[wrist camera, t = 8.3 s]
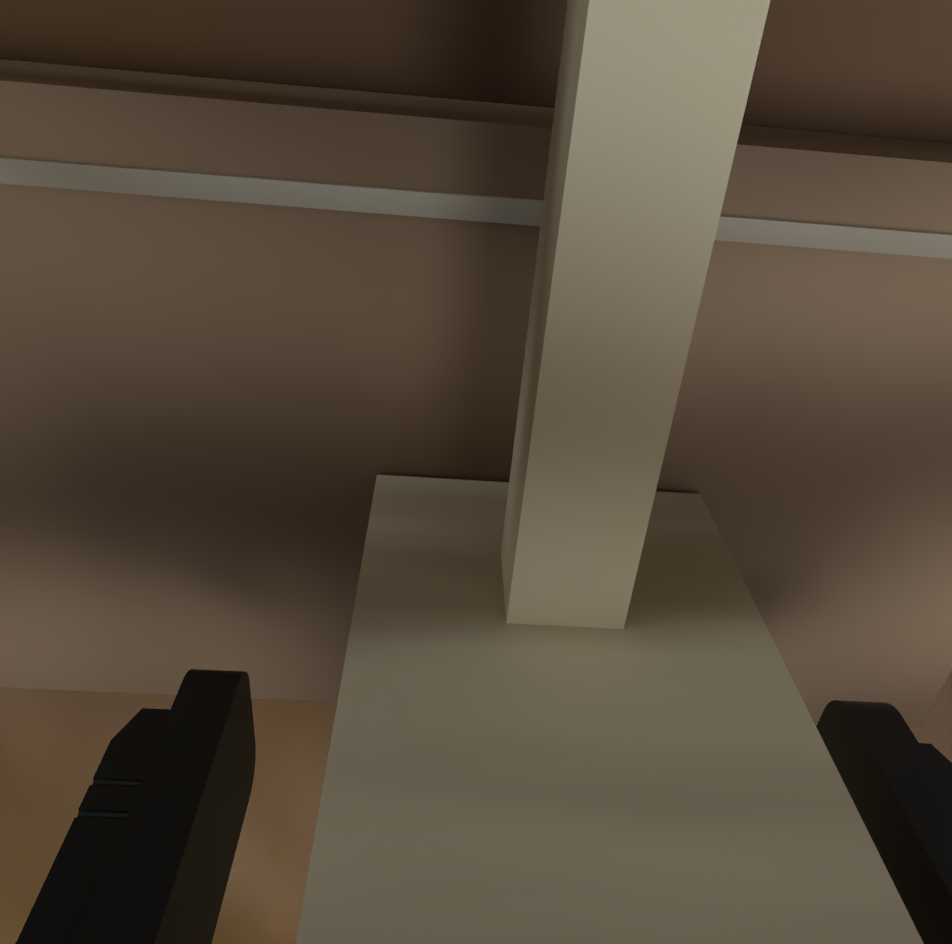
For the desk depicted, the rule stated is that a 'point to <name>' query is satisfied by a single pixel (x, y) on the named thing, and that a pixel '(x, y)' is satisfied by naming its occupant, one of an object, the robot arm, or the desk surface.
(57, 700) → the desk surface
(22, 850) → the desk surface
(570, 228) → the wooden mallet
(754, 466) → the board
